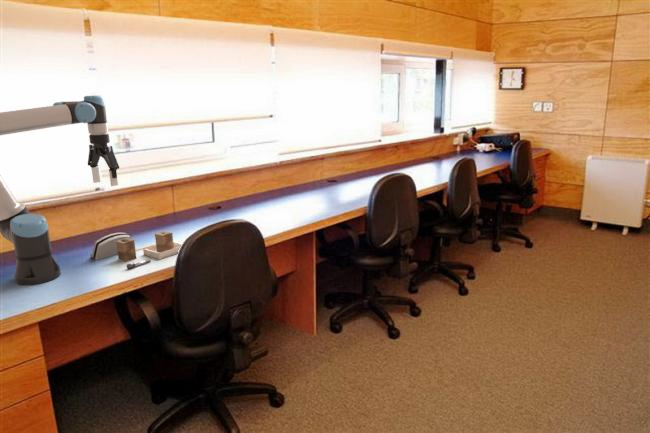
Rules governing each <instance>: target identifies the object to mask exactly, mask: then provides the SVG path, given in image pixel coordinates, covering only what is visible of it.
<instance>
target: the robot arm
mask: <svg viewBox="0 0 650 433" xmlns="http://www.w3.org/2000/svg"><path fill="white" fill-rule="evenodd" d="M107 118H108V117H107V110H106V104H105V98H104V97H103V95H85V96H84V97H83V100H81V101H79V100H77V101H74V100H73V101H59V102H56V101H55V102H54V103H53V104H52V105H48V106H41V107H40V106H39V107H34V108H26V109H25V108H24V109H17V110H9V111H8V110H7V111H3V112H1V111H0V136H6V135H13V134H17V133H23V132H24V133H25V132H30V131H36V130H43V129H49V128H55V127H63V126H68V125H74V124H87V128H88V130H87V131H88V134H89V136H88V137H89V142H90V144H89V145H88V147H89V149H88V150H89V151H88V158H87V166H90V168H91V176H92V181H93V183H94V184H95V183H101V178H100V177H101V176H100V170H99V165H98V164H99V160H100V158H102V159H104V161H105V164H106V165H107V166H108V168H109V169H108V173H109V179H110V186H111V187H116V186H119V182H118V176H117V174H118V172H117V170H118V169H120V165H119V163H118V160H117V158H116V154H115V152H114V149H113V148H114V147H113V145H109V146H108V144H109V143H110V134H109V125H108V120H107ZM0 234H1V236H2V237H3V238H4V239H5V240H7V241H9V242H11V243H12V244H13V247H14V253H15V258H16V265H15V270H14V275H13V277H14V282H15V284H18V285H23V286H24V285H25V286H28V285H29V286H30V285H37V284H38V285H39V284H42V283H47V282H49V281H52V280H55V279H57V278H58V277H60V276H61V274H62V273H61V268H60V266H59V265H60V264H58V262H57V260H56V258H55V257H54V256H53V251H52V245H51V244H52V243H51V240H50V232H49V224H48V221H47V218H46V217H45V216H43V215H41V214H39V213H31V212H30V211H29V209H28V208H27V206H26V204H24V203H20V202H18V201H17V199H16V197H15V196H14V194H13V193H12V191H11V190H10V188H9V186H8V185H7V183H6V182H5V181H4V179H3V178H2V176H1V175H0Z"/></svg>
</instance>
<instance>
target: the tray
mask: <svg viewBox="0 0 650 433" xmlns="http://www.w3.org/2000/svg"><path fill="white" fill-rule="evenodd" d="M182 244H183V243H182V242H178V241H175V240H173V245H174V248H172V249H169V250H166V251H163V252H157V248H156V245H155V244H153V245H154V246H151V245H150V246H151V247H148V246H147V247H148V248H144V247H143V248H144V249H142V251H143V255H145V256H147V257H150V258H154V259H157V260H163V259H166V258H168V257H171V256H174V255H177V253H178V250H179V248H180V247H181V245H182ZM178 254H179V253H178Z"/></svg>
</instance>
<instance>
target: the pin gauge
mask: <svg viewBox="0 0 650 433" xmlns="http://www.w3.org/2000/svg"><path fill="white" fill-rule="evenodd" d="M149 263H151V259H145V260H141V261H138V262H137V263H134V262H129V263H127V264H126V268H127V269H128V270H130V269H134V268H135V267H136V268H137V267H140V266H142V265H146V264H149Z"/></svg>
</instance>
